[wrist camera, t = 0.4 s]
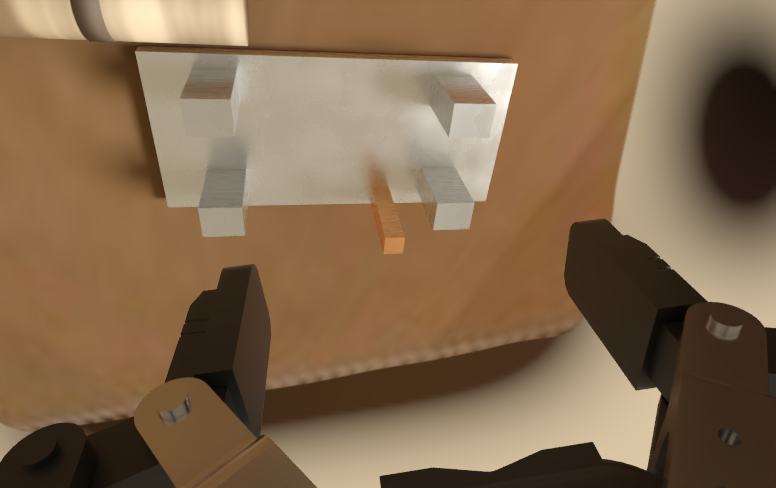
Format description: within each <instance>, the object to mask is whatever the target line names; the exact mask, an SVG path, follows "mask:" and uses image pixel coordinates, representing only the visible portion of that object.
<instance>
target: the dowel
mask: <svg viewBox="0 0 776 488" xmlns="http://www.w3.org/2000/svg"><path fill="white" fill-rule="evenodd" d="M0 37H22V38H48V39H75V40H89V41H99V42H119V41H127V42H154V43H180V44H207V45H233V46H248V39H249V27H248V6H247V0H0Z"/></svg>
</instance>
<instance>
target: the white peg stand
mask: <svg viewBox="0 0 776 488" xmlns="http://www.w3.org/2000/svg"><path fill="white" fill-rule="evenodd" d="M135 54H136V59H137V63H138V68H139V73H140V77H141V82H142V87H143V92H144V96H145V101H146V106H147V110H148V115H149V120H150V124H151V129H152V134H153V138H154V143H155V148H156V153H157V157H158V162H159V167H160V171H161V176H162V181H163V185H164V190H165V195H166V200H167V204H168V207H198V211H199V217H200V223H201V228H202V234H203V237H216V236H245V232H246V221H247V210H248V206H254V205H305V204H357V203H371V206H372V210H373V214H374V218H375V222H376V226H377V230H378V234H379V238H380V242H381V246H382V250H383V253H384V254H396V253H403V248H404V240H405V236H404V233H403V230H402V227H401V224H400V221H399V218H398V214H397V211H396V208H395V205H394V203H408V202H422V204H423V206H424V209H425V211H426V214H427V216H428V219H429V221H430V224H431V226H432V229H433V230H449V229H469V226H470V222H471V217H472V213H473V208H474V204H475V202H474V201H486V197H487V193H488V189H489V184H490V180H491V176H492V172H493V168H494V163H495V159H496V155H497V151H498V146H499V142H500V138H501V134H502V130H503V125H504V121H505V117H506V113H507V108H508V104H509V100H510V96H511V91H512V87H513V83H514V79H515V75H516V70H517V66H518V63H517V62H515V61H514V60H513V59H508V58H479V57H450V56H422V55H393V54H364V53H335V52H307V51H278V50H249V49H220V48H192V47H163V46H138V48H137V49H136V51H135Z"/></svg>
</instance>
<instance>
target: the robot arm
mask: <svg viewBox="0 0 776 488" xmlns="http://www.w3.org/2000/svg"><path fill="white" fill-rule="evenodd" d="M564 278H565V285H566V289H567V291H568V294H569V296H570V297H571V299H572V300H573V301H574V303H575V304H576V306H577V307H578V309H579V310H580V311H581V313H582V314H583V316H584V317H585V319H586V320H587V321H588V323H589V324H590V326H591V327H592V329H593V330H594V331H595V333H596V334H597V336H598V337H599V338H600V340H601V341H602V343H603V344H604V346H605V347H606V348H607V350H608V351H609V353H610V354H611V356H612V357H613V358H614V360H615V361H616V363H617V364H618V366H619V367H620V368H621V370H622V371H623V372H624V374H625V376H626V377H627V378H628V380H629V381H630V383H631V384H632V385H633V387H634V388H635V390H642V389H649V388H655V387H657V388H658V390H659V391H660V392H661V396H660V400H659V403H658V408H657V414H656V420H655V426H654V431H653V438H652V444H651V450H650V456H649V462H648V467H647V471H646V470H644V469H641V468H638V467H636V466H633V465H629V464H626V463H623V462H617V461H613V460H607V459H602V458H601V456H600V455H599V453H598V451H597V449H596V447H595V445H594V444H593V442H589V443H583V444H576V445H570V446H564V447H558V448H552V449H545V450H541V451H538V452H536V453H534V454H532V455H529V456H527V457H525V458H523V459H520V460H518V461H516V462H514V463H512V464H509V465H507V466H505V467H503V468H500V469H498V470H495V471H492V472H482V471H469V470H457V469H444V468H428V469H421V470H415V471H409V472H403V473H396V474H390V475H384V476H380V484H381V488H776V328H767V327H764V326H763V325H762V323H761V322H760V321H759V320H758V319H757V318H756V317H754V316H753V315H752V314H750V313H748V312H746V311H745V310H742V309H740V308H738V307H735V306H732V305H729V304H724V303H718V302H708V301H706V300H705V299H704V298H703V297H702V296H701V295H700V294H699V293H698V292H697V291H696V290H695V289H694V288H692V286H691V285H689V284H688V283H687V282H686V281H685V280H684V279H683V278H682V277H681V276H680V275H679V274H678V273H677V272H676V271H674V270H673V269H672V270H671V268H670V266H669V265H668V264H667V263H666V262H665V261H664V260H663V259H660V256H659V255H657V254H656V253H655V252H654V251H653V250H652V249H651V248H650V247H649V246H648V245H647V244H645V243H643V242H641V241H639V240H637V239H635V238H633V237H631V236H629V235H622V234H621V233H620V232H619V231H618V230H617V229H616V228H615V227H614V226H613V225H612V224H611V223H610V222H609V221H607V220H606V219H597V220H589V221H582V222H575V223H573V224H572V226H571V229H570V234H569V242H568V249H567V257H566V264H565V272H564ZM270 340H271V326H270V318H269V313H268V309H267V305H266V301H265V297H264V293H263V290H262V286H261V282H260V278H259V274H258V271H257V268H256V266H255V265H254V264H250V265H243V266H235V267H227V268H223V269H222V272H221V276H220V279H219V283H218V287H217V289H215V290H208V291H203V292H202V293H201V294H200V296H199V297H198V298H197V299H196V300H195V301H194V302H193V303H192V304H191V305H190V308H189V311H188V314H187V317H186V320H185V324H184V326H183V329H182V332H181V337H180V338H179V341H178V344H177V347H176V350H175V353H174V356H173V359H172V362H171V365H170V368H169V371H168V374H167V377H166V380H165V383H164V384H162V385H160V386H158V387H156V388H155V389H153V390H152V391H151V392H150V393H148V394H147V395H146V396H145V397H144V398H143V399H142V401H141V402H140V403H139V405H138V407H137V409H136V411H135V414H134V417H132V418H130V419H128V420H126V421H124V422H121V423H119V424H116V425H114V426H111V427H109V428H106V429H104V430H101V431H99V432H96V433H93V434H91V435H88V436H87V435H86V434H85V432H84V431H83V429H82V428H81V427H80V426H78V425H76V424H73V423H57V424H53V425H49V426H46V427H44V428H41V429H39V430H37V431H35V432H33V433H32V434H30V435H28V436H26V437H25V438H24V439H22V440H21V441H19V442H18V443H17V444H16V445H15V446H14V447H13V448H12V449H11V450H10V451H9V452H8V453H7V454H6V455H5V456H4V458H3V459H2V461H1V462H0V488H317V487H316V486H315V485H314V484H313V483H312V482H311V481H310V480H309V479H308V478H307V477H306V476H305V474H304V473H303V472H302V471H301V470H300V469H299V468H298V467H297V466H296V465H295V464H294V463H293V462H292V461H291V460H290V459H289V458H288V457H287V455H286V454H285V453H284V452H283V451H282V450H281V449H280V448H279V447H278V446H277V445H276V444H275V443H274V442H273V441H272V440H271V439H270V438H269V437H267V436H266V435H262V436H260V433H261V423H262V414H263V405H264V395H265V386H266V377H267V368H268V358H269V349H270Z"/></svg>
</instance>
